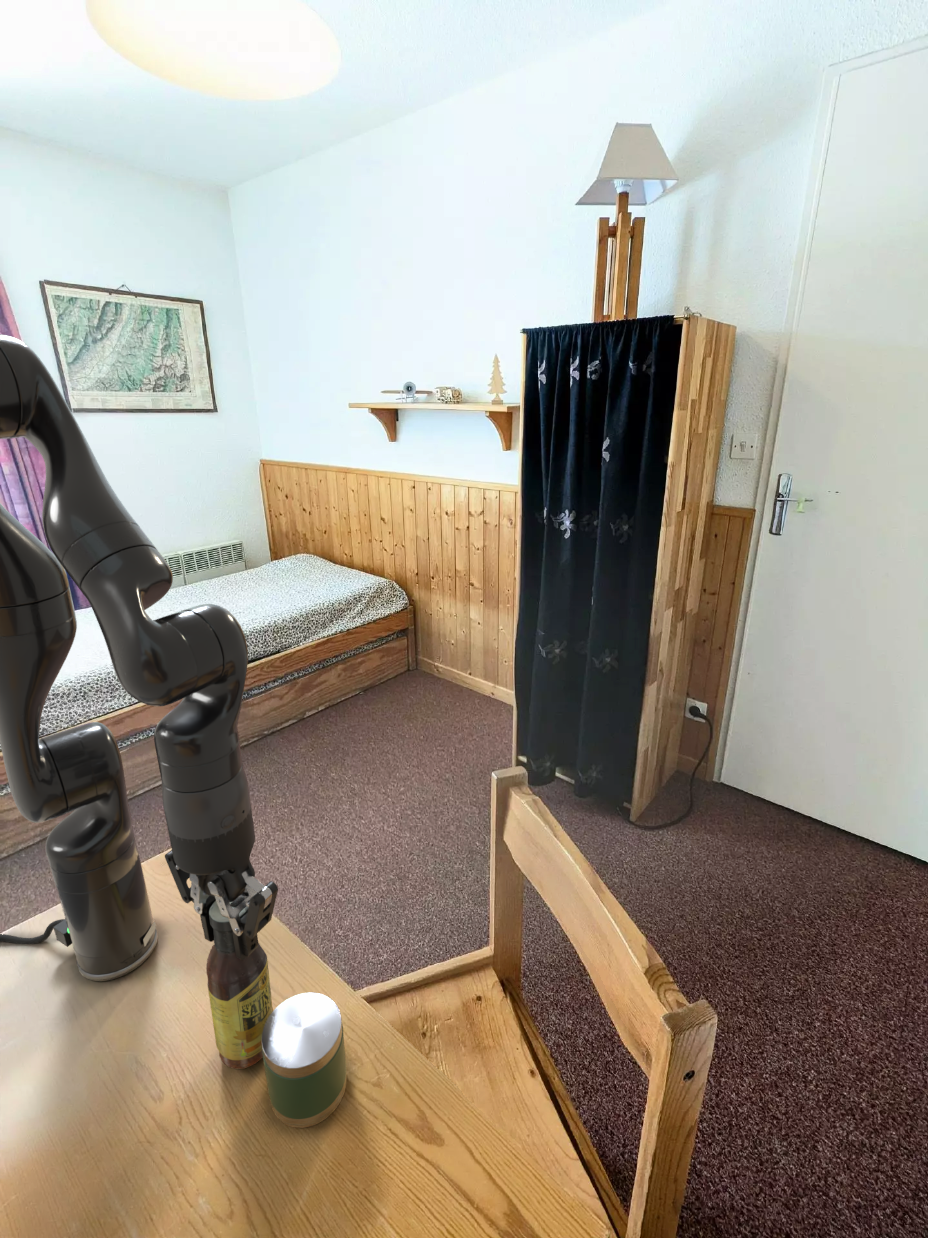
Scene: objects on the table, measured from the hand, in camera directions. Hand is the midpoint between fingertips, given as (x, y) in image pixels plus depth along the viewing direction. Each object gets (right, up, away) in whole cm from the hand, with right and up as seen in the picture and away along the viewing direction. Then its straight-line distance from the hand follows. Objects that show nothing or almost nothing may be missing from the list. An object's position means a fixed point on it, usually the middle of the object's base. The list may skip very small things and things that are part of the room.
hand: (231, 943), depth 64 cm
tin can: (+8, -16, +1) cm, 18 cm away
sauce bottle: (0, -14, +5) cm, 15 cm away
